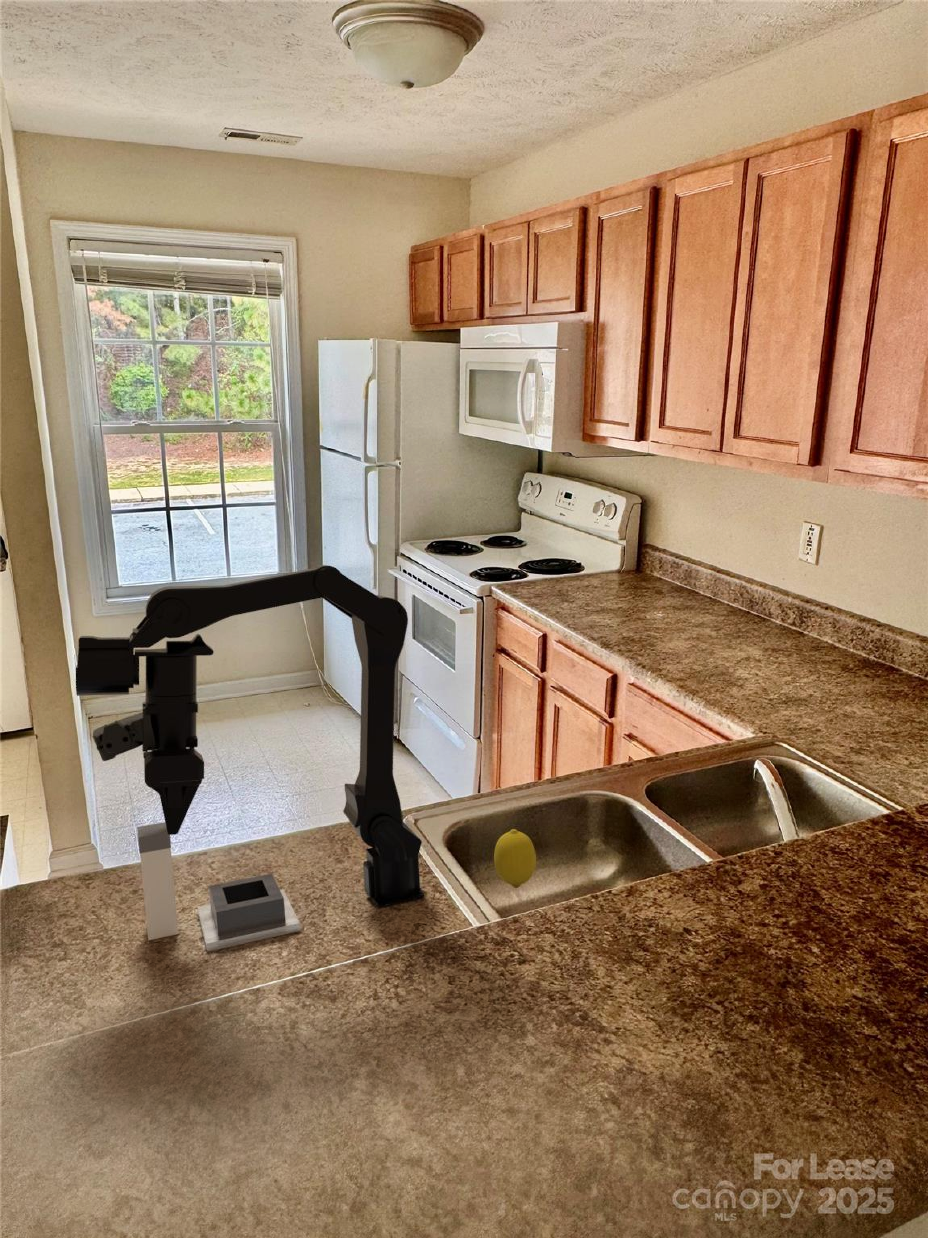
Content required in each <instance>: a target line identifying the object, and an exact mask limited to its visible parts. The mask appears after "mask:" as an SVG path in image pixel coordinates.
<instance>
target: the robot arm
mask: <svg viewBox="0 0 928 1238" xmlns="http://www.w3.org/2000/svg"><path fill="white" fill-rule="evenodd" d="M317 599H323V600H324V601H326V602H327V603H328V604H330V605H331V606H332V607H334V608H336V609H337V610H338V611H340V613H343V614H344V615H345V616H347V617H348V618H350V619H351V624H352V630H353V635H354V641H355V646H356V650H357V653H358V657H359V660H360V664H361V666H360V667H361V684H360V686H361V690H360V739H359V740H360V741H359V771H358V775H357V777H356V779H355V782H354V783H345V784H344V793H345V806H344V808H343V810H342V812H343V814H344V815H345V817H346V818H347V819H348V821H349V824H350V825H351V827H352V829H353V830H354V831H355V833H357V835H358V837H359V838H360V839H361V840H362V842H364V843H365V844H366V845H367V846H368V847H369V848H366V849H365V852H366V853H365V854H366V860H364V861H363V862H362V867H363V868H362V869H363V885H364V892H365V893H366V894H367V896H368V897H369V898H370V899H371V900H372V901H373V903H374V904H375V906H377V907H379V908H381V907H386V906H390V905H395V904H399V903H403V902H408V901H413V900H417V899H422V898H425V896H426V894H425V891H424V890H423V889H422V888H421V880H420V877H421V876H420V864H419V863H420V862H419V854H420V850H421V847H422V843H423V841H422V839H421V838H420V837H419V836H418V835H417V834H416V833H415V832H414V831H413V830H412V829H411V828H410V827H409V826H408V825H407V824H406V823H405V822H404V819H403V817H404V816H403V811H402V805H401V800H400V795H399V792H398V789H397V786H396V781H395V777H394V743H395V742H394V739H395V738H394V737H395V735H394V734H395V733H394V732H395V700H396V699H395V694H396V693H395V692H396V691H395V690H396V687H395V686H396V666H397V664H398V661H399V660H400V656H401V653H402V651H403V648H404V645H405V639H406V634H407V630H408V629H407V628H408V624H409V617H408V612H407V610H406V608H405V607H404V606H403V605H402V603H400V602H399V601H398V600H396V599H394V598H392V597H388V596H383V595H379V594H375V593H373V592H371V591H370V590H368V589H367V588H365V587H364V586H362V585H360V584H359V583H357V582H355V581H354V580H352V579H350V578H349V577H347V576H346V575H345V574H343V573H342V572H341V570H339V569H338V568H336V567H335V566H332V565H326V564H318V565H315V566H313V567H311V568H308V569H303V570H299V571H298V570H297V571H292V572H288V573H282V574H275V575H272V576H266V577H261V578H257V579H256V578H255V579H252V580H251V579H250V580H245V581H240V582H235V583H230V584H224V585H170V586H164V587H160V588H159V589H155V591H153V592H152V593H151V595H150V596H149V598H148V599H147V601H146V605H145V616H144V617H143V619H141V621H140V622H139V624H138V625H137V627H136V628H134V627H133V628H132V632H131V633H130V635H129V637H128V636H125V637H124V636H123V637H121V636H119V637H118V636H117V637H113V636H112V637H109V636H108V637H99V636H93V635H80V637H79V638H78V649H77V650H78V651H77V664H76V666H75V694H76V696H77V697H78V696H79V697H80V696H81V697H83V696H85V697H86V696H113V695H114V696H117V695H118V696H119V695H130V689H134V688H135V687H134V686H140V657H145V699H144V701H142V711H141V712H139V713H137V714H136V713H135V714H133V715H130V716H126V717H124V718H121V719H119V720H114V721H113V722H110V723H108V724H104V725H102V726H100V727H97V728H95V729H94V730H93V733H92V738H93V741H94V743H95V746H96V750H97V751H98V753H99V755H100V756H99V757H100V758H101V760H102V762H108V761H111V760H113V759H115V758H117V757H116V756H119V755H121V754H124V753H127V752H128V751H131V750H134V749H136V748H139V747H140V746H141V748H142V754H143V755H142V756H143V759H144V761H143V762H144V765H143V766H144V767H143V770H144V772H143V773H144V774H143V775H144V776H143V777H144V784H145V785H146V786H147V788H151V789H152V790H154V791H155V792H156V793H157V794H158V795H159V798H160V803H161V808H162V814H163V818H164V822H165V823H166V828H167V833H168V834H169V835H170V836H172V835H173V836H174V835H177V834H179V832H180V829H181V828H182V825H183V822H184V820H185V818H186V816H187V814H188V811H189V810H190V807H191V805H192V802H193V800H194V798H195V796H196V794H197V792H198V789H199V787H200V785H201V784H202V783H203V780H204V779H205V760H204V759H203V756H202V754H201V752H198V750H196V749H195V748H198V745H199V740H198V739H199V738H198V735H197V713H199V703H198V701H197V683H198V682H197V680H198V679H197V669H198V667H197V666H198V664H197V660H198V659H197V657H198V656H200V657H202V656H212V655H213V656H214V652H215V651H214V649H213V648H212V647H211V646H210V645H208V644H207V643H206V642H205V641H204V640H203V637H202V636H201V634H199V633H197V634H195V636H193V638H192V639H191V640H166V642H165V648H151V647H153V646H155V644H157V643H159V642H161V641H162V640H164V639H165V638H168V639H178V638H181V637H185V636H187V635H190V634H192V633H194V632H197V631H200V630H203V629H205V628H207V627H210V626H212V625H214V624H216V623H218V622H221V621H223V620H225V619H228V618H231V617H233V616H238V615H244V614H248V613H254V612H258V611H263V610H267V609H273V608H277V607H284V606H287V605H292V604H297V603H301V602H306V601H308V602H309V601H312V600H317Z"/></svg>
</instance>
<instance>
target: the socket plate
mask: <svg viewBox="0 0 928 1238" xmlns="http://www.w3.org/2000/svg"><path fill="white" fill-rule="evenodd" d="M208 889H209V890H208V891H209V904H206V905H200V906H197V913H198V919H199V922H200V923H199V924H200V927H201V931H202V935H203V936H202V937H203V941H204V945H205V948H206V952H213V951H217V950H222V949H225V948H229V947H230V948H231V947H234V946H239V945H244V944H248V943H252V942H257V941H261V940H265V939H270V938H274V937H279V936H283V935H287V934H292V933H296V932H300V931H301V923H300V921H299V919H298V917H297V915H296V912H295V910H294V909H293V906H292V904H291V903H290V900H289V898H288V896H287V894H286V892H285V890H284V889H280V888H279V886H278V884H277V881H276V879H275V877H274V875H273V873H267V874H262V875H257V876H251V877H246V878H242V879H238V880H237V879H236V880H231V881H227V882H223V883H222V882H221V883H216V884H211V885H208Z"/></svg>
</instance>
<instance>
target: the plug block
mask: <svg viewBox="0 0 928 1238" xmlns="http://www.w3.org/2000/svg"><path fill="white" fill-rule="evenodd" d="M136 828H137V829H136V830H137V839H138V851H139V856H140V866H141V876H142V877H141V878H142V888H143V889H142V890H143V900H144V908H145V909H144V910H145V921H146V930H147V939H148V941H152V940H156V939H160V938H166V937H167V938H168V937H171V936H175V935H179V926H178V914H177V903H176V891H175V882H174V881H175V880H174V871H173V870H174V869H173V860H172V859H173V858H172V849H171V848H172V844H171V835H169V834H168V833H167V828H166V823H165V821H164V822H158V823H152V824H146V825H139V826H136Z"/></svg>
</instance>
